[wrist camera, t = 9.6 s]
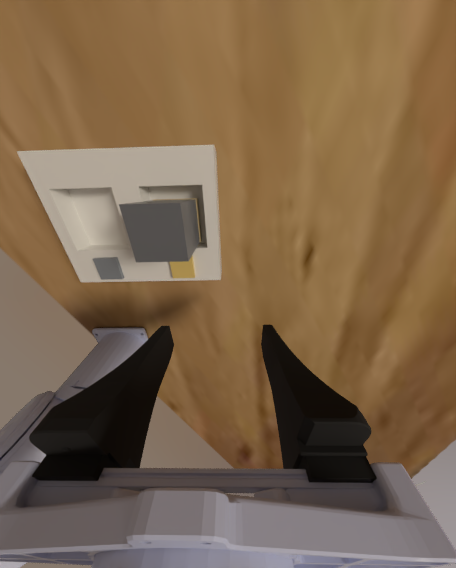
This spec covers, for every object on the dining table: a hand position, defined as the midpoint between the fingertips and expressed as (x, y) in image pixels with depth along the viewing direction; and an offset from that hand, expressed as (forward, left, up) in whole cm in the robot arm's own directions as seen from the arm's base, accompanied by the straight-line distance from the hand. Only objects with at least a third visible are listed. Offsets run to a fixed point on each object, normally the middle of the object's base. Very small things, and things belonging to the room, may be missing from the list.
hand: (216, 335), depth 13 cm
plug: (+7, +4, -9) cm, 12 cm away
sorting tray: (+7, +8, -10) cm, 15 cm away
